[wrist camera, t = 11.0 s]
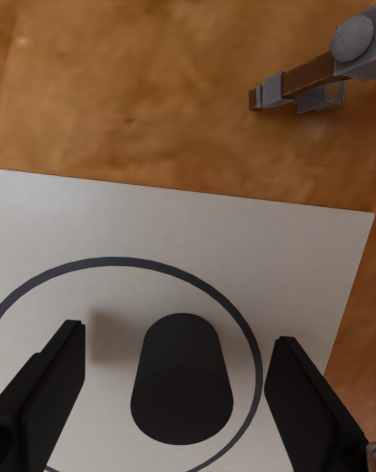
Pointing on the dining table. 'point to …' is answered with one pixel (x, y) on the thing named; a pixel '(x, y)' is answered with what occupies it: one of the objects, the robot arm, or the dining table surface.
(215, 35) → the dining table surface
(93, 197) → the paper sheet
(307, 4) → the dining table surface
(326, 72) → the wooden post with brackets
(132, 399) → the eye dot
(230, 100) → the dining table surface
